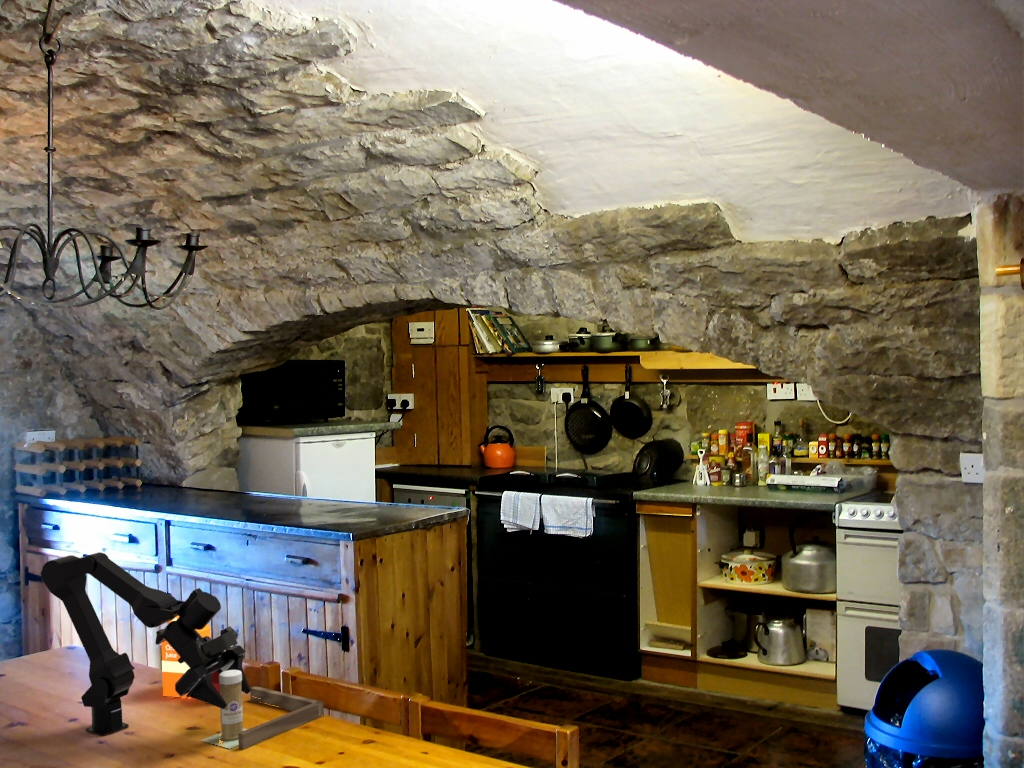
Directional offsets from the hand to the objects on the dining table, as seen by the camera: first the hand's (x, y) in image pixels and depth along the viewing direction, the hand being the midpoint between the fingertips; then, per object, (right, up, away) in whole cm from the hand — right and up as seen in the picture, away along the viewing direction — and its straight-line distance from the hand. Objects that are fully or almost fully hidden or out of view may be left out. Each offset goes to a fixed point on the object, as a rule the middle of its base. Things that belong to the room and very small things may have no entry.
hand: (237, 699), depth 197 cm
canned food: (-11, -9, +26) cm, 29 cm away
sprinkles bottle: (-1, -8, +1) cm, 8 cm away
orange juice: (-21, -9, +32) cm, 39 cm away
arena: (0, -8, +9) cm, 12 cm away
